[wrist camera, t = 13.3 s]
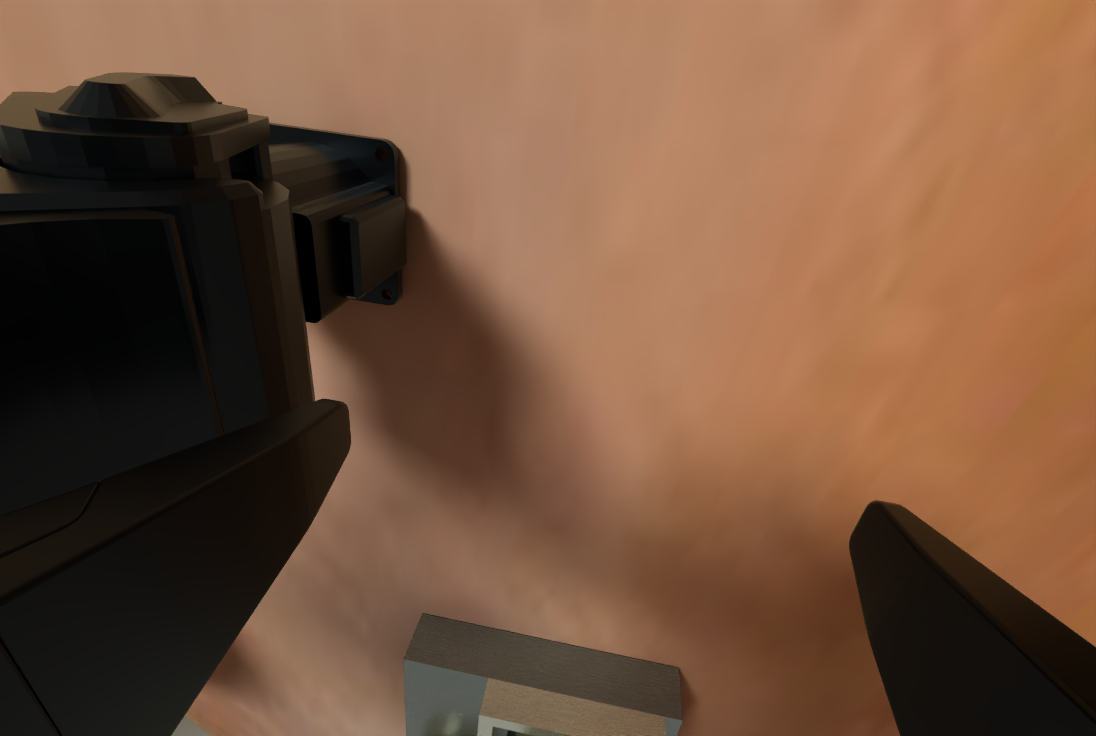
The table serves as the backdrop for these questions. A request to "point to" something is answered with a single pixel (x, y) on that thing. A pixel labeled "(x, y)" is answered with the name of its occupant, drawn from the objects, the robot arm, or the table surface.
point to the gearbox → (530, 686)
